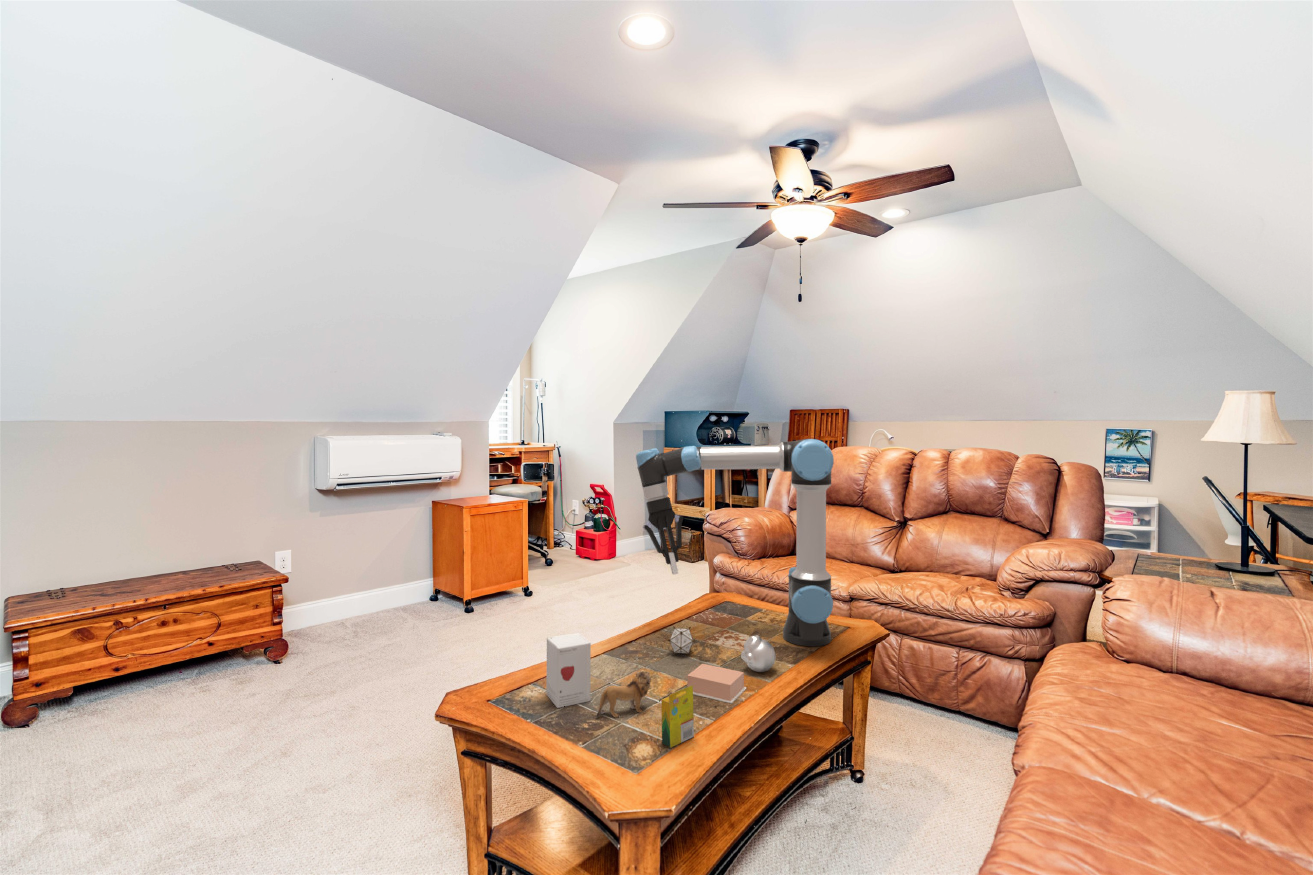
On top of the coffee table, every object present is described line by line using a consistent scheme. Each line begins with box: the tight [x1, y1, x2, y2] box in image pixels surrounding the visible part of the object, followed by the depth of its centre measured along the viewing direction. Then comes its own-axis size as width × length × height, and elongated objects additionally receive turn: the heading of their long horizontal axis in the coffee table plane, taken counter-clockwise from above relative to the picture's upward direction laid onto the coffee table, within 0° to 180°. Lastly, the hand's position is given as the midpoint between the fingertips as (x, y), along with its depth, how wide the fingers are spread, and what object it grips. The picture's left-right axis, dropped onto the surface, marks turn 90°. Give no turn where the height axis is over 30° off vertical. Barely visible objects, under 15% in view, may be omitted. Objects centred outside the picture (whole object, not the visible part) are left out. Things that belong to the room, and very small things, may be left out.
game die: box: [667, 626, 697, 656], centre depth 187 cm, size 9×8×10 cm
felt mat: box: [693, 686, 747, 704], centre depth 161 cm, size 12×10×1 cm
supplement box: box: [545, 632, 592, 709], centre depth 157 cm, size 9×9×15 cm
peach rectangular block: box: [686, 663, 745, 701], centre depth 161 cm, size 4×9×12 cm
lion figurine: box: [595, 669, 652, 718], centre depth 149 cm, size 15×5×9 cm, turn 120°
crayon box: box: [660, 685, 695, 749], centre depth 136 cm, size 7×3×12 cm, turn 131°
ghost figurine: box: [740, 634, 776, 673], centre depth 174 cm, size 9×10×10 cm
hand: (675, 573), depth 191 cm, fingers closed
